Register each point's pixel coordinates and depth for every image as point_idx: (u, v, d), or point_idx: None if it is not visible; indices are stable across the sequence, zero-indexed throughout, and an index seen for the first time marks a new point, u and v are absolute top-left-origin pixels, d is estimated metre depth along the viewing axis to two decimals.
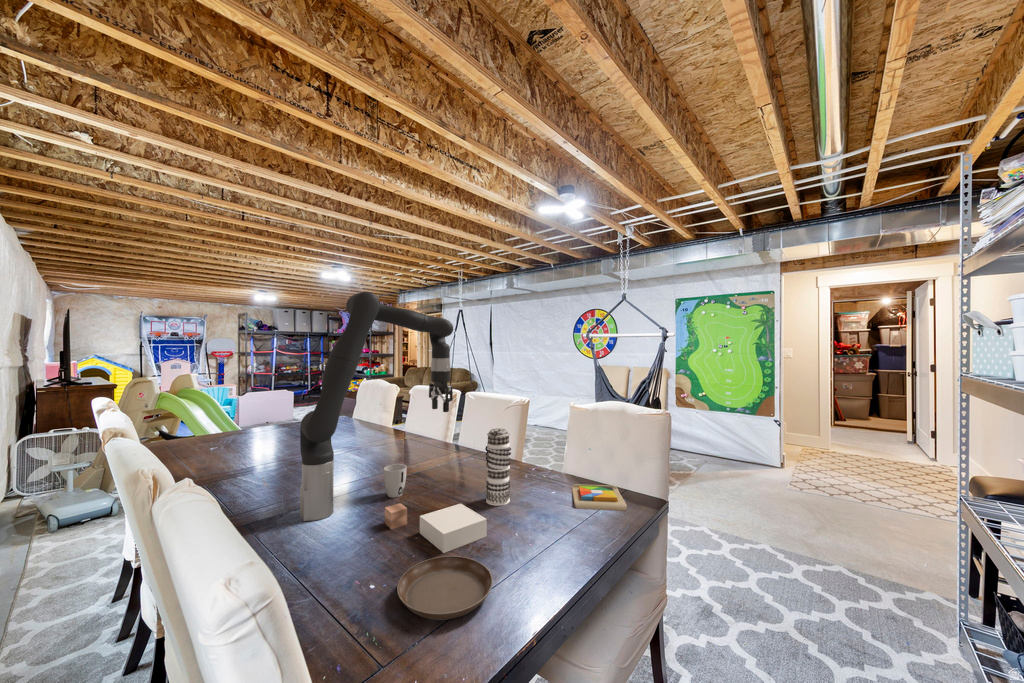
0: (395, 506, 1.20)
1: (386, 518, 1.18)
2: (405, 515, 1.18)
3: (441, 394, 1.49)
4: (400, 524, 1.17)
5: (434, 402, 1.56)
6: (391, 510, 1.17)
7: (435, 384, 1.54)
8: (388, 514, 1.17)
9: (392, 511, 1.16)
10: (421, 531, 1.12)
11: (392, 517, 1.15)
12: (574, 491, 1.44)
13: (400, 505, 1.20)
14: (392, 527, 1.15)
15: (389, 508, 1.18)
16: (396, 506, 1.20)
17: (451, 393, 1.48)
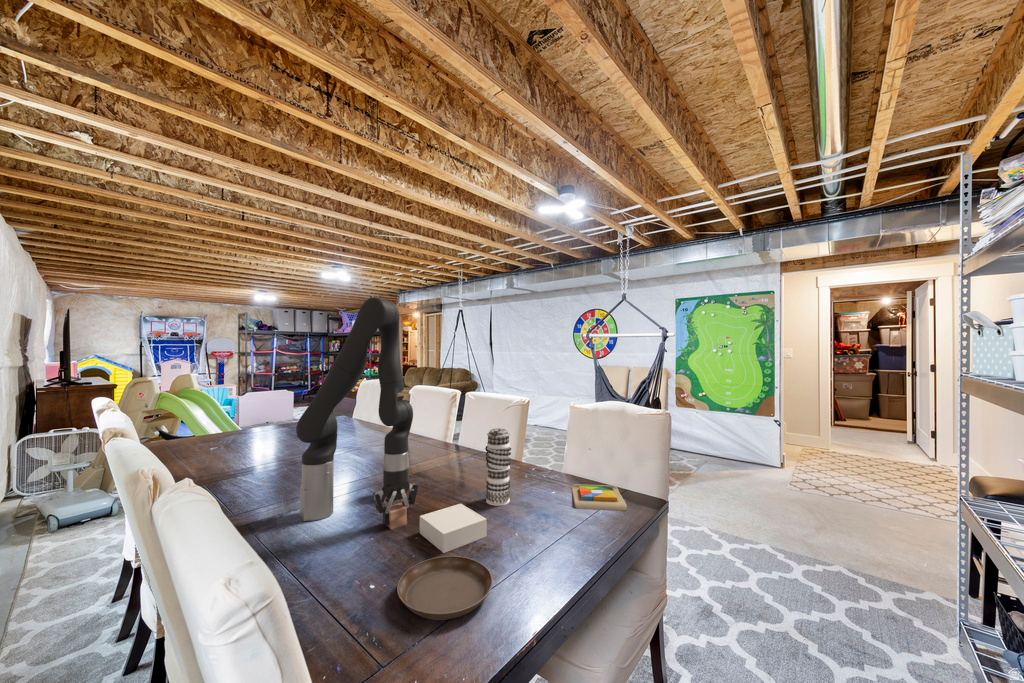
0: (395, 506, 1.19)
1: None
2: (405, 515, 1.18)
3: None
4: (400, 524, 1.17)
5: None
6: (391, 510, 1.17)
7: (391, 488, 1.17)
8: None
9: (392, 511, 1.16)
10: (421, 531, 1.12)
11: (392, 517, 1.15)
12: (574, 491, 1.44)
13: (400, 505, 1.20)
14: (392, 527, 1.15)
15: None
16: (396, 505, 1.20)
17: None
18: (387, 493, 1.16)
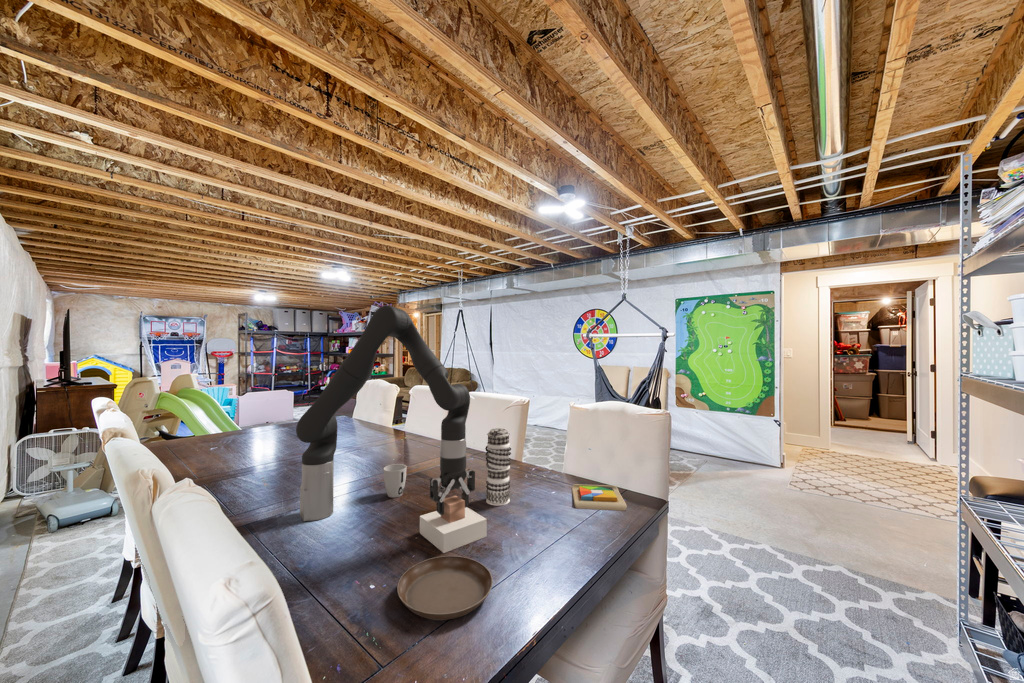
0: (452, 498, 1.13)
1: None
2: (463, 508, 1.11)
3: (466, 485, 1.13)
4: (458, 517, 1.10)
5: None
6: (449, 502, 1.10)
7: (449, 476, 1.10)
8: (445, 506, 1.10)
9: (451, 503, 1.09)
10: (421, 531, 1.12)
11: (451, 510, 1.09)
12: (574, 491, 1.44)
13: (456, 497, 1.14)
14: (451, 520, 1.09)
15: (446, 500, 1.11)
16: (452, 498, 1.13)
17: None
18: (445, 481, 1.09)
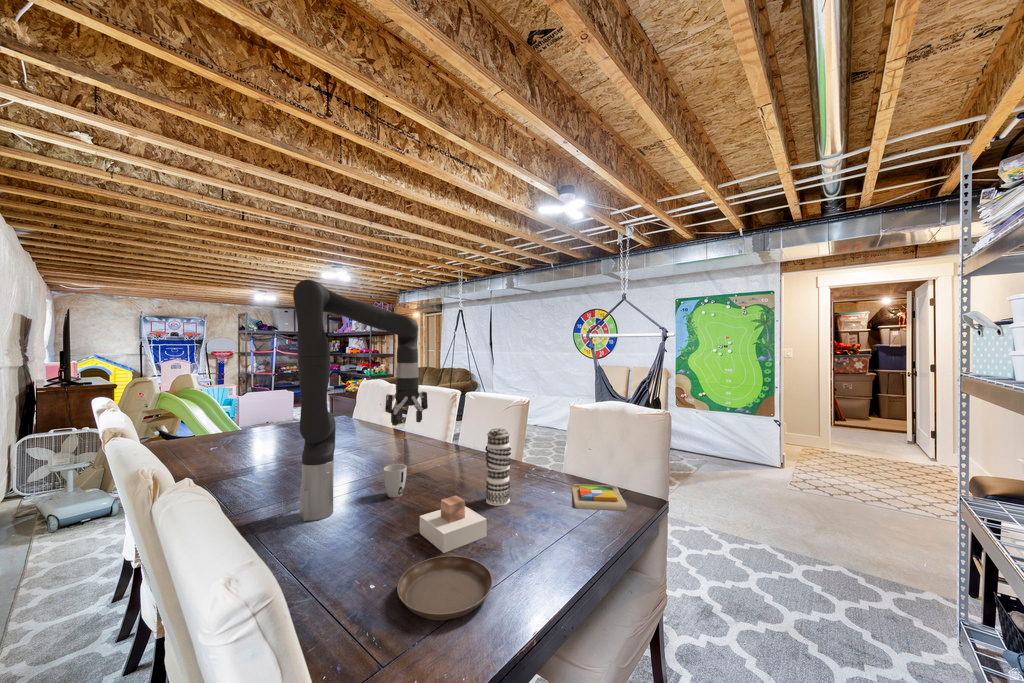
0: (452, 498, 1.13)
1: (443, 511, 1.11)
2: (463, 508, 1.11)
3: None
4: (458, 517, 1.10)
5: None
6: (449, 502, 1.10)
7: (402, 394, 1.29)
8: (445, 506, 1.10)
9: (451, 503, 1.09)
10: (421, 531, 1.12)
11: (451, 510, 1.09)
12: (574, 491, 1.44)
13: (456, 497, 1.14)
14: (451, 520, 1.09)
15: (446, 500, 1.11)
16: (452, 498, 1.13)
17: None
18: (399, 398, 1.29)
